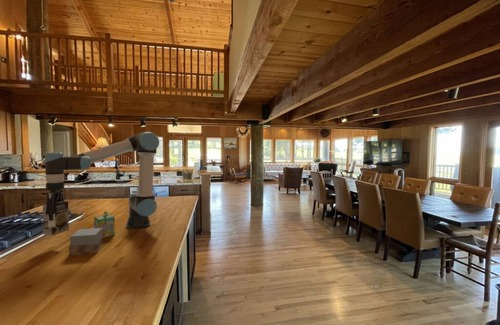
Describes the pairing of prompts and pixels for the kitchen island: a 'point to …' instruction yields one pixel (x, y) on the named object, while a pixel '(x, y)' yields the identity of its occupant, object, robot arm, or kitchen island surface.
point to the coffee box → (57, 219)
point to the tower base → (85, 248)
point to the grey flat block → (86, 237)
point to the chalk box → (105, 224)
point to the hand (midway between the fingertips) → (56, 223)
